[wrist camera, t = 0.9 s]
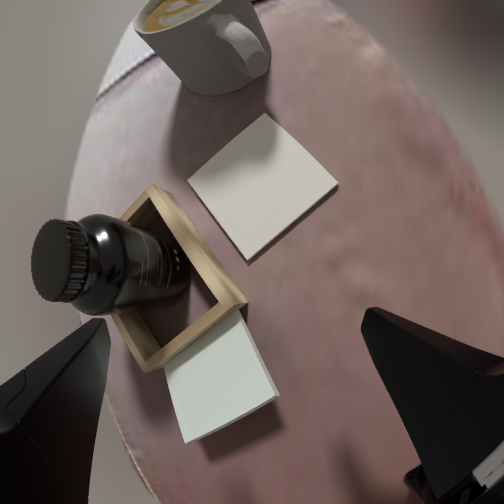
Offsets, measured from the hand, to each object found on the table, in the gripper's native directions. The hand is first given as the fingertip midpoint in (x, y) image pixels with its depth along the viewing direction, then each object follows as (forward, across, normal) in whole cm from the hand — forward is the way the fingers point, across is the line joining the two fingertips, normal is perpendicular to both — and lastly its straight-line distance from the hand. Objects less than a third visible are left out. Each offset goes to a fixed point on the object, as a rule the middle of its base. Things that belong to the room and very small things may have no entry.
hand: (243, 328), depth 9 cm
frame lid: (+10, 0, +11) cm, 15 cm away
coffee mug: (+23, -2, -13) cm, 27 cm away
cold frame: (+15, +4, +6) cm, 17 cm away
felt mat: (+16, -3, -2) cm, 16 cm away
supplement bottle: (+16, +5, +6) cm, 18 cm away
